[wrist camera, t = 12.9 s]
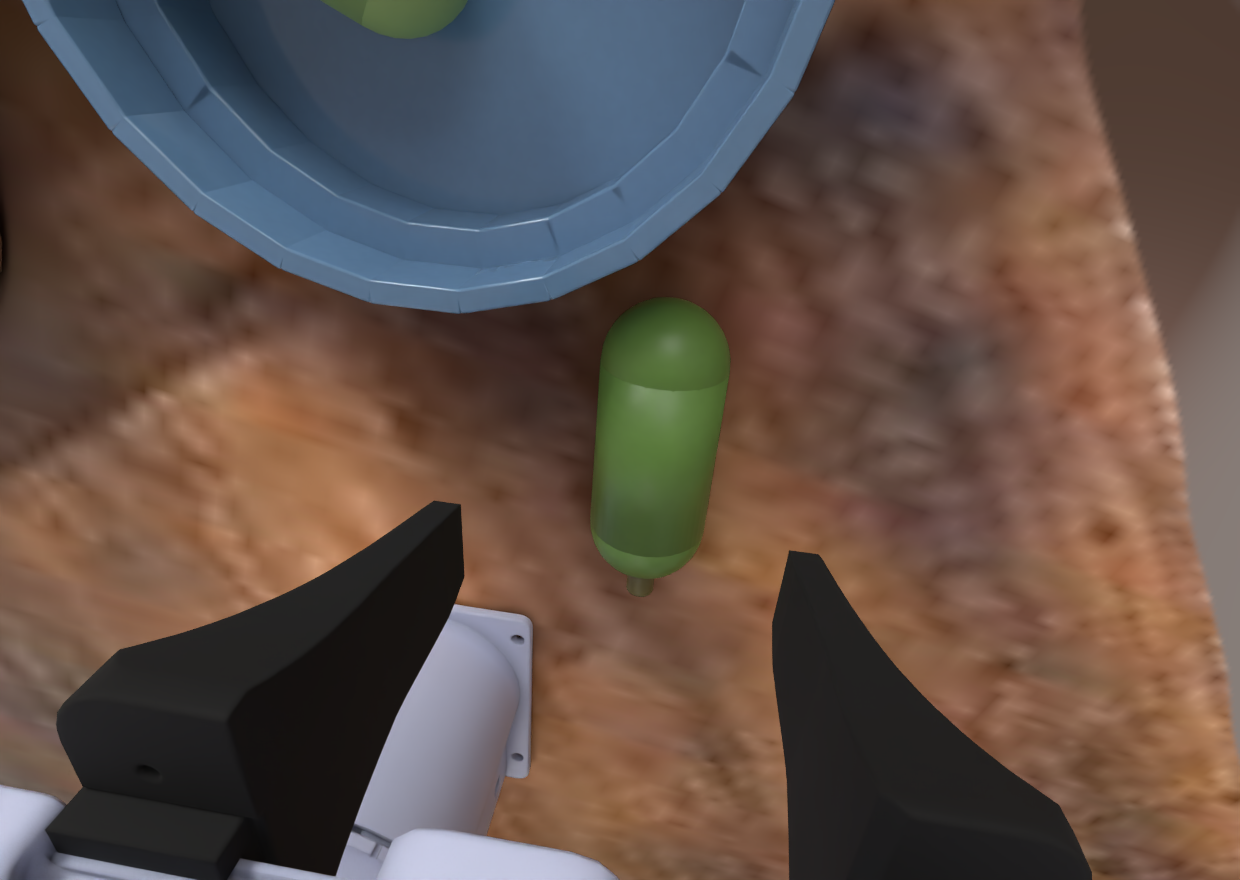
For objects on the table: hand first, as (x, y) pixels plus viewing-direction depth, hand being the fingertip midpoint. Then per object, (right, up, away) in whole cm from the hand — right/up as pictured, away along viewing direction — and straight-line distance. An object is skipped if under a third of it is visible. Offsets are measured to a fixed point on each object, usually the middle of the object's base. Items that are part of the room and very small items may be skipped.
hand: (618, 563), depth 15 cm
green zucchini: (+1, +3, +7) cm, 8 cm away
